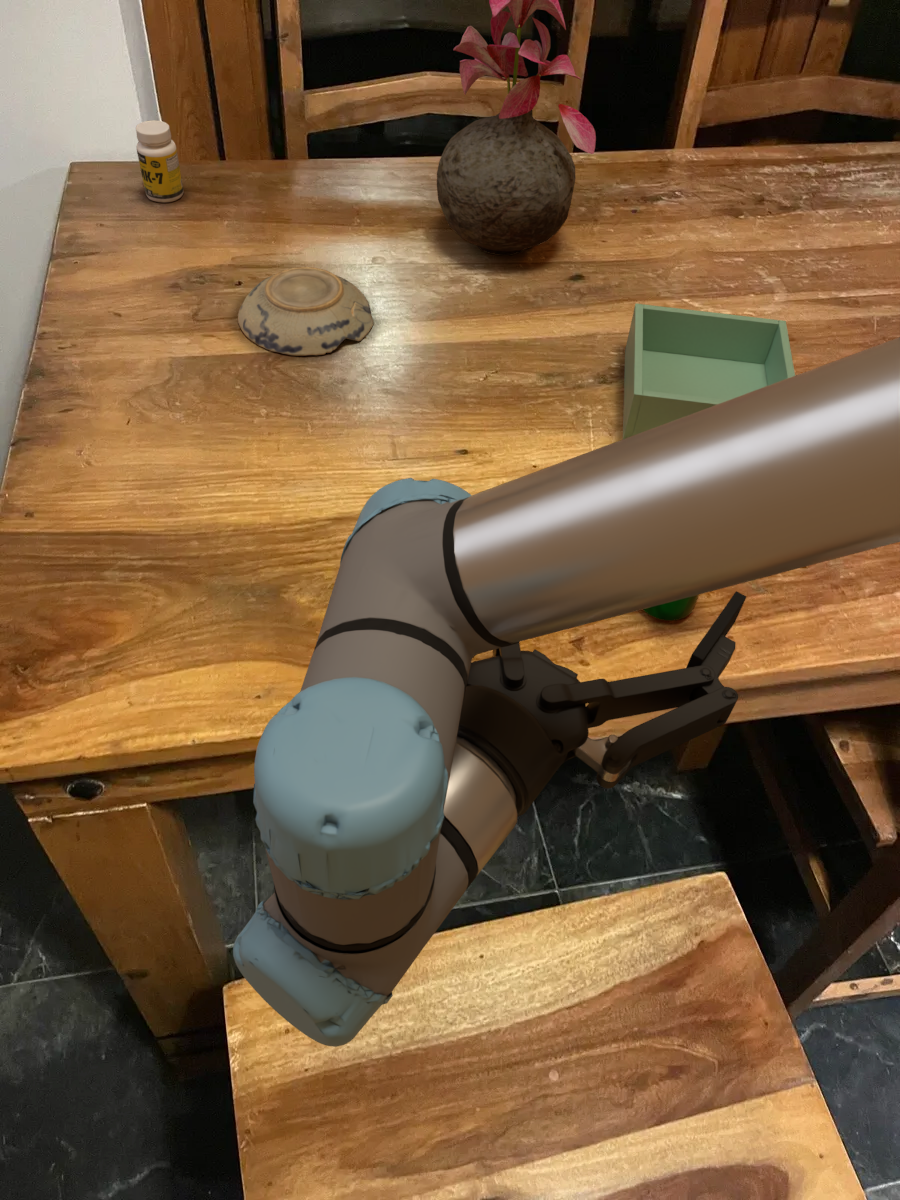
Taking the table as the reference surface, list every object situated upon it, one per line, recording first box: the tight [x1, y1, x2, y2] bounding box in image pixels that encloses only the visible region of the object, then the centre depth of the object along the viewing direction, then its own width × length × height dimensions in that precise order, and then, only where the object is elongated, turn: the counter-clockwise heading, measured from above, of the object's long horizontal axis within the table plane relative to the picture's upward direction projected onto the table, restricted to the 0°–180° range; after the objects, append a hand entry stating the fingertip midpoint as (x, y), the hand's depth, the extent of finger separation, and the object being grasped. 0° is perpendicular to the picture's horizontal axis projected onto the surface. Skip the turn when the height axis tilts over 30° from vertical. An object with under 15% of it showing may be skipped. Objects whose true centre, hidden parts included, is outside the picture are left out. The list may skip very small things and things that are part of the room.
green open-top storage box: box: [622, 302, 796, 440], centre depth 94 cm, size 16×16×6 cm
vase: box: [436, 0, 597, 256], centre depth 104 cm, size 17×17×30 cm
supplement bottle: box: [135, 120, 184, 204], centre depth 116 cm, size 5×5×8 cm
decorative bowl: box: [237, 266, 374, 357], centre depth 102 cm, size 15×4×15 cm
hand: (645, 559), depth 64 cm, fingers open, 13 cm apart
